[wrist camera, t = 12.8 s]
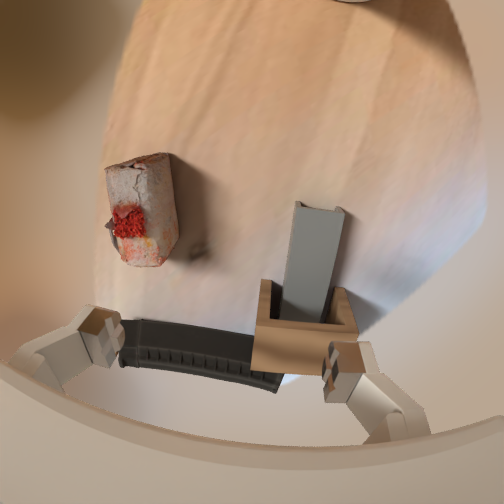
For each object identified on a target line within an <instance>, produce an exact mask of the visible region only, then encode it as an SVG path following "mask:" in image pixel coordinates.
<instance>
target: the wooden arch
mask: <svg viewBox="0 0 504 504" xmlns="http://www.w3.org/2000/svg"><path fill="white" fill-rule="evenodd" d="M271 281H272V280H264V279H261V286H260V294H259V303H258V311H257V319H256V328H255V336H254V344H253V352H252V361H251V369H250V370H254V371H264V372H274V373H286V374H300V375H318V376H322V366H323V361H324V358H325V356H326V355H328V354H329V352H328V347H329V344H330V342H331V341H353V342H356V341H357V338H358V336H359V331H358V328H357V325H356V322H355V319H354V316H353V313H352V310H351V307H350V304H349V301H348V298H347V295H346V292H345V289H344V288H341V287H334V291H333V295H332V299H331V302H330V306H329V309H328V313H327V316H326V320H325V323H324V324H320V323H308V322H296V321H286V320H276V319H269V317H270V300H271Z"/></svg>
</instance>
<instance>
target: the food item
mask: <svg viewBox="0 0 504 504" xmlns="http://www.w3.org/2000/svg"><path fill="white" fill-rule="evenodd" d="M104 170H105V173H106V181H107V189H108V196H109V202H110V208H111V213H112V218H111V219H110V221H109V222H108V223H107V224H106V225H107V226H106V225H105V227H106V228H109V231H110V236H111V240H112V243H113V245H114V247H115V248H116V249H117V251H118V252H119V253H120V255H121V259H122V260H123V261H124V262H126V263H127V264H128V265H132V266H135V267H159V266H161V265H162V264H163V263H164V262H165V260H166V259H167V256H168V255H169V254H170V253H171V251H172V249H174V246H175V243H176V242H177V240H178V239H179V228H178V219H177V212H176V208H175V200H174V189H173V182H172V176H171V167H170V159H169V154H168V153H160V152H159V153H156V154H152V155H147V156H142V157H137V158H134V159H132V160H129V161H126V162H123V163H120V164H115V165H112V166H109V167H106V168H105V169H104ZM112 230H115V231H114V234H115V235H113V232H112Z"/></svg>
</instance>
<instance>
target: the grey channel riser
mask: <svg viewBox="0 0 504 504" xmlns="http://www.w3.org/2000/svg"><path fill="white" fill-rule="evenodd" d="M344 217H345V213H344V212H343V210H342V209H341V208H340V207H337V206H336V208H335V211H331V210H324V209H316V208H309V207H301V203H300V201H295V208H294V215H293V222H292V229H291V236H290V243H289V250H288V256H287V263H286V269H285V275H284V282H283V288H282V294H281V300H280V306H279V312H278V317H277V320H286V321H296V322H308V323H319V322H320V318H321V314H322V311H323V307H324V303H325V300H326V296H327V292H328V288H329V284H330V280H331V276H332V272H333V268H334V263H335V259H336V255H337V250H338V246H339V241H340V236H341V232H342V227H343V222H344Z"/></svg>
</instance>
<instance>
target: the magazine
mask: <svg viewBox="0 0 504 504" xmlns="http://www.w3.org/2000/svg"><path fill="white" fill-rule="evenodd" d="M120 324H121V325H122V327H123V328H124V331H125V340H124V345H123V346H122V348H121V350H119V351H117V352H115V354H116V356H117V354H118V352H119V358H118V361H119V365H120V367H121V368H124V367H125V366H132V367H136V368H139V367H143V368H151V369H160V370H168V371H174V372H181V373H187V374H193V375H199V376H204V377H209V378H214V379H219V380H224V381H229V382H236V383H240V384H245V385H249V386H253V387H257V388H260V389H264V390H267V391H270V392H273V393H275V394H276V393H277V390H278V388H279V386H280V384H281V381H282V379H283V377H284V374H285V373H274V372H264V371H254V370H250V369H251V361H252V352H253V344H254V337H253V336H248V335H243V334H238V333H233V332H228V331H223V330H217V329H211V328H205V327H199V326H192V325H184V324H175V323H164V322H153V321H144V320H143V319H141V320H121V321H120Z"/></svg>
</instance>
